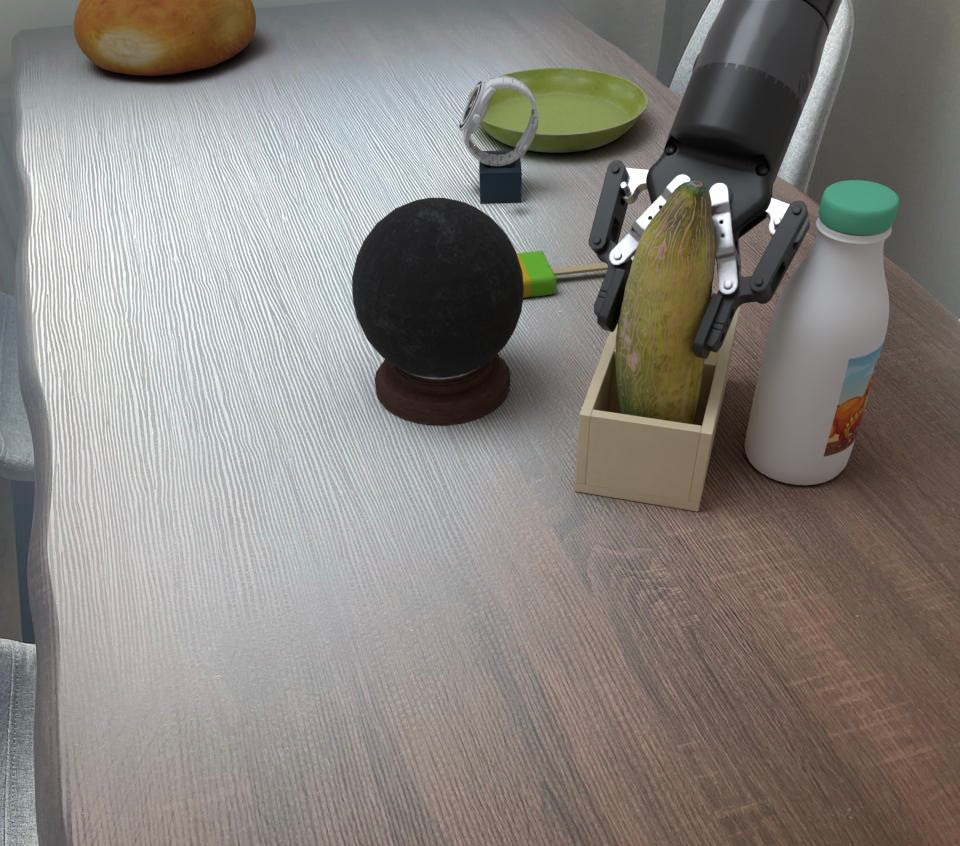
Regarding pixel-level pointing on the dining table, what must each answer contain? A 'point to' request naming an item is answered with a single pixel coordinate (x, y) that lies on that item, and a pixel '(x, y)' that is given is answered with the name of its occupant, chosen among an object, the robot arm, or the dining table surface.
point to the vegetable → (667, 309)
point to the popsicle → (547, 273)
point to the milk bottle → (824, 341)
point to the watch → (500, 166)
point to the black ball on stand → (438, 309)
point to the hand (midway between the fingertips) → (650, 340)
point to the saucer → (565, 109)
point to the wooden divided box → (649, 438)
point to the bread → (162, 33)
